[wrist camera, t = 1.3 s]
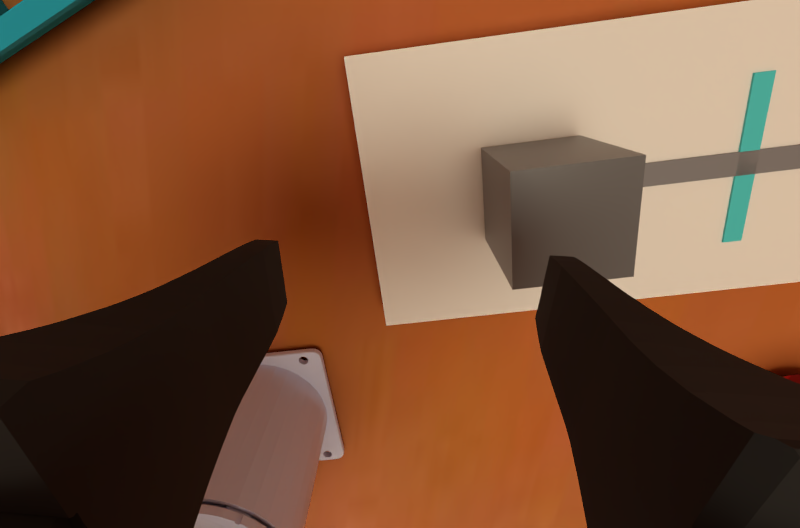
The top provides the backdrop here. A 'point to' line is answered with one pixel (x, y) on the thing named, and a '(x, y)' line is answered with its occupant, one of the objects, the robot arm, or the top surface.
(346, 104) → the top surface
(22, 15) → the ice cube tray
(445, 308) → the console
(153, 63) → the top surface
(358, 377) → the top surface
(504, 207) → the fader knob
